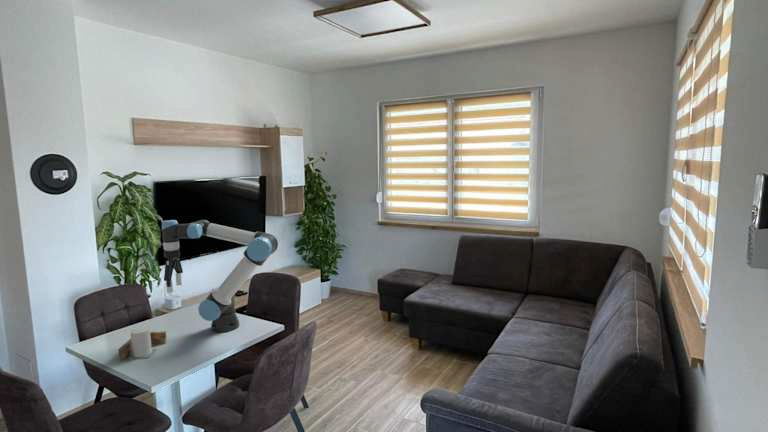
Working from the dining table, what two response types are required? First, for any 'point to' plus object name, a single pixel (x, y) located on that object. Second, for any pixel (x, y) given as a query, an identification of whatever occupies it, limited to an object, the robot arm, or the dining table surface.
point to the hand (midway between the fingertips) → (174, 288)
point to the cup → (141, 342)
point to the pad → (141, 357)
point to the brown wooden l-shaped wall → (155, 339)
